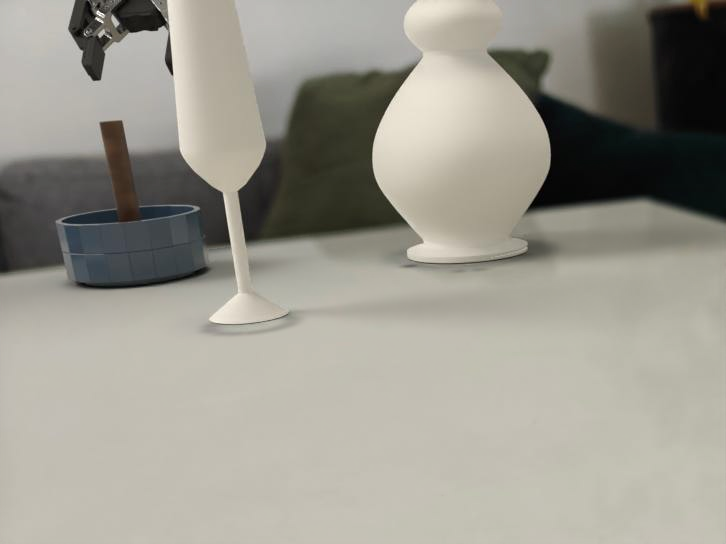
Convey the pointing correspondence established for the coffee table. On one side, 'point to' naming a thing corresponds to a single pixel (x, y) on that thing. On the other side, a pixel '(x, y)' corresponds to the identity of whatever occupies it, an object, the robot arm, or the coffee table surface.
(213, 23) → the champagne flute
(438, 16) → the decorative vase
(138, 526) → the coffee table surface
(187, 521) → the coffee table surface
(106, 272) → the bowl
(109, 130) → the stirring stick
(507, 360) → the coffee table surface
